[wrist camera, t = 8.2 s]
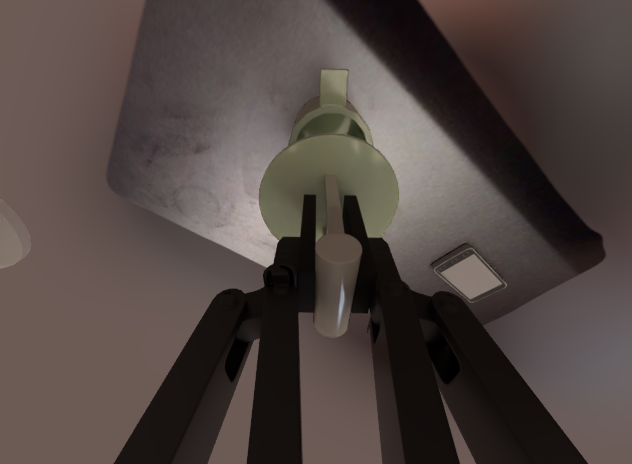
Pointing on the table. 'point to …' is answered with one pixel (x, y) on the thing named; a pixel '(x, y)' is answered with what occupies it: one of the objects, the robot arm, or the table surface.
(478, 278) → the smartphone
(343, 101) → the pot
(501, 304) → the table surface
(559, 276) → the table surface
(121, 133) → the table surface
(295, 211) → the lid
